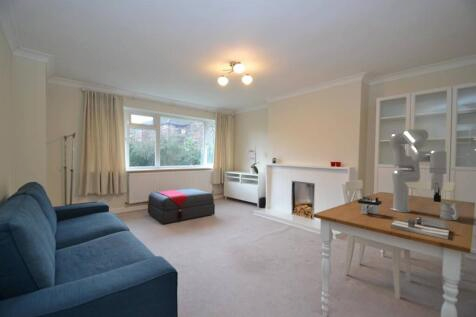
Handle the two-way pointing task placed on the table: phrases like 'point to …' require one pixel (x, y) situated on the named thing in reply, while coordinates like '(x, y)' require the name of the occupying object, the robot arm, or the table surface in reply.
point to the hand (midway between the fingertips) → (437, 201)
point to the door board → (420, 228)
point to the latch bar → (431, 222)
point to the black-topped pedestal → (369, 205)
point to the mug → (449, 211)
